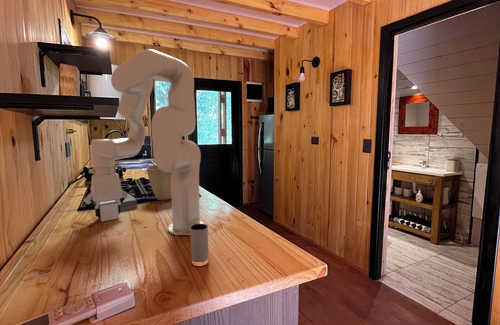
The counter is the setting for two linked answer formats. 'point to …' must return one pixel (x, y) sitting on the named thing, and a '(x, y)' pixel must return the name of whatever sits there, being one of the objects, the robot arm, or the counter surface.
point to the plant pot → (160, 182)
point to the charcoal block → (128, 203)
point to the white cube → (108, 210)
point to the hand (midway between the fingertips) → (108, 215)
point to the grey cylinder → (199, 242)
